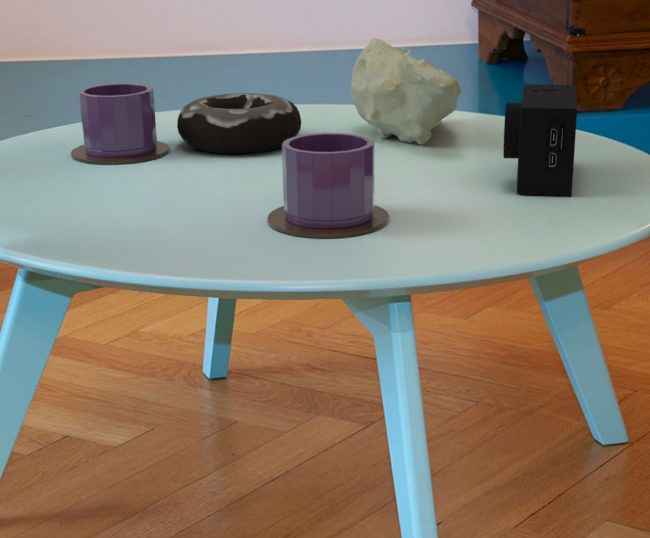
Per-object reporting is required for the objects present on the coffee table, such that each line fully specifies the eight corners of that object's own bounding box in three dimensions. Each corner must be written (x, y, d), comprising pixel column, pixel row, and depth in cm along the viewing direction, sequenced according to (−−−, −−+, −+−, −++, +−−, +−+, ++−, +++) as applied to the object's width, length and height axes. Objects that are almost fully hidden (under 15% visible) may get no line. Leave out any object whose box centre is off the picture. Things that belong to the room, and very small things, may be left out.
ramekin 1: (126, 160, 101) (120, 98, 99) (69, 153, 104) (63, 93, 102) (171, 145, 106) (167, 86, 104) (116, 138, 109) (111, 81, 107)
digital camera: (506, 162, 99) (509, 82, 96) (569, 164, 98) (575, 83, 96) (501, 194, 90) (504, 106, 87) (571, 196, 89) (577, 107, 86)
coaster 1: (127, 168, 100) (127, 165, 99) (50, 157, 104) (50, 154, 104) (188, 147, 107) (188, 144, 107) (114, 138, 111) (114, 135, 111)
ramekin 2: (346, 233, 80) (345, 157, 78) (267, 221, 83) (265, 147, 81) (389, 210, 85) (389, 137, 83) (313, 199, 88) (312, 129, 86)
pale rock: (320, 95, 114) (366, 38, 114) (397, 162, 116) (443, 106, 116) (348, 87, 97) (403, 20, 96) (438, 166, 99) (493, 100, 98)
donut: (313, 152, 104) (312, 109, 102) (184, 161, 102) (181, 117, 100) (289, 126, 114) (288, 86, 113) (172, 134, 112) (170, 93, 111)
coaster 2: (352, 245, 78) (352, 241, 78) (244, 227, 83) (243, 223, 83) (409, 212, 86) (409, 208, 86) (307, 197, 90) (307, 194, 90)
